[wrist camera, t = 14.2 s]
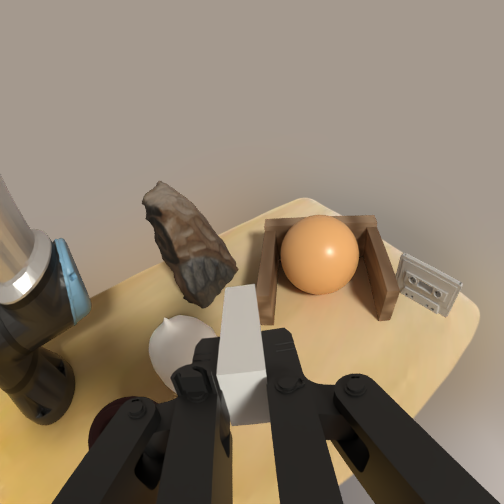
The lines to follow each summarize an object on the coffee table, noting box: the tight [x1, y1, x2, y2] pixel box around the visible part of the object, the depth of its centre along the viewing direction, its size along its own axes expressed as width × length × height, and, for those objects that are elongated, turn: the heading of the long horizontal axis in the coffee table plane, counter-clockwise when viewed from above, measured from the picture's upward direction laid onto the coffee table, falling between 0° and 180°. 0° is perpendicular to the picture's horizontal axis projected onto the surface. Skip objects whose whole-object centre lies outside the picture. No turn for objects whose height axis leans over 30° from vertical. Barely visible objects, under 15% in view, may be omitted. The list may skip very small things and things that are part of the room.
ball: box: [281, 215, 359, 295], centre depth 44 cm, size 13×13×13 cm
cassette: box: [396, 253, 463, 317], centre depth 38 cm, size 12×2×8 cm, turn 40°
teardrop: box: [149, 315, 217, 394], centre depth 35 cm, size 11×11×12 cm
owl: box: [142, 181, 238, 308], centre depth 47 cm, size 13×13×20 cm
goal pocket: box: [256, 215, 400, 325], centre depth 46 cm, size 21×18×8 cm
